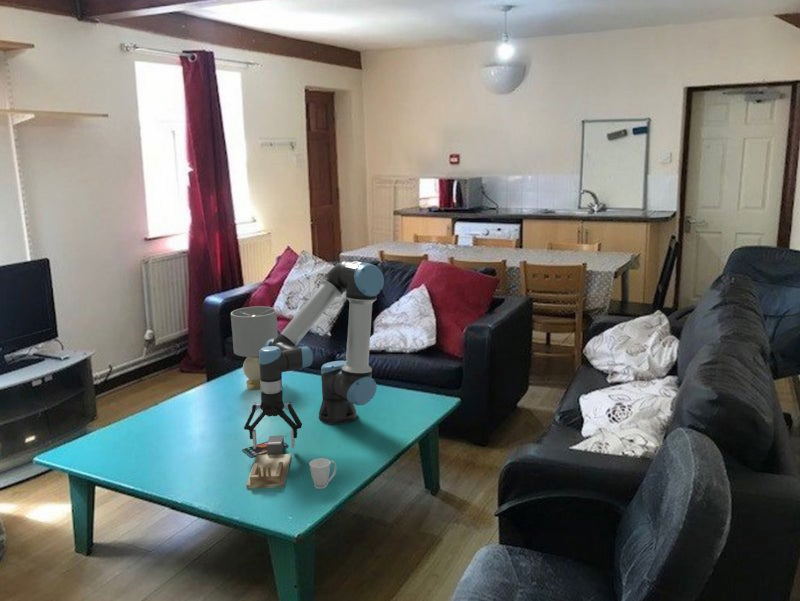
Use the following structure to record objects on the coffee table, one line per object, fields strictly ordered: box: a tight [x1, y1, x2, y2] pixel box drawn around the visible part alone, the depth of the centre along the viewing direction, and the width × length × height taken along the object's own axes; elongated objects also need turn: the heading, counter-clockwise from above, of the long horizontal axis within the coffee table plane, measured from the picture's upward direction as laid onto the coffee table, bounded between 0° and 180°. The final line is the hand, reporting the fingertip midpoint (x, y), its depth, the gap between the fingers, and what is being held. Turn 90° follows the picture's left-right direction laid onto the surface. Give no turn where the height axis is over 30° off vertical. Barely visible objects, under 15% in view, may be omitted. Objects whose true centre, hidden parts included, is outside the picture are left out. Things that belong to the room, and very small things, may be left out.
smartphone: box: [241, 440, 289, 459], centre depth 253 cm, size 8×1×15 cm
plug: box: [266, 434, 285, 455], centre depth 249 cm, size 5×8×5 cm, turn 3°
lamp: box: [230, 306, 279, 391], centre depth 315 cm, size 20×20×35 cm
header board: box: [246, 453, 292, 489], centre depth 234 cm, size 12×22×7 cm, turn 3°
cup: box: [308, 457, 337, 490], centre depth 225 cm, size 7×10×8 cm
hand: (274, 446), depth 249 cm, fingers open, 13 cm apart
